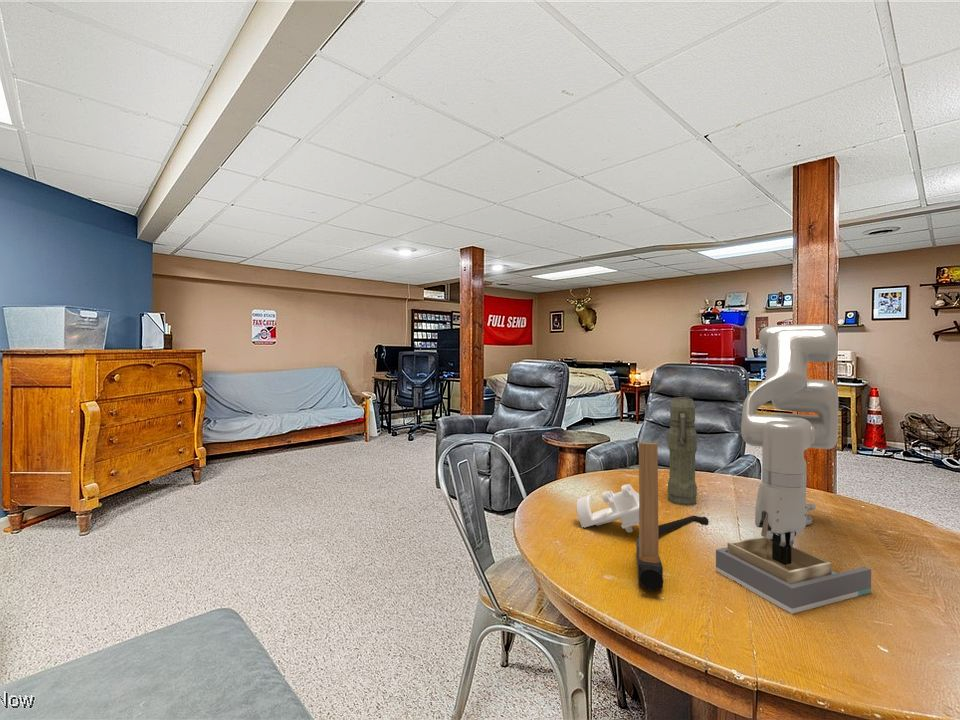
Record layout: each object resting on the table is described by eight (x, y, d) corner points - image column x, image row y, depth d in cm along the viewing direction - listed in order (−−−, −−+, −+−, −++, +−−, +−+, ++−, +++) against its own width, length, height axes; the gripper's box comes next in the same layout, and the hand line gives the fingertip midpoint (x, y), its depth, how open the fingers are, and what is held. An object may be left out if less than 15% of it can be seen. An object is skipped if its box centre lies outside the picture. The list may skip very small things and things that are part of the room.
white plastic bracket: (589, 548, 128) (569, 503, 131) (603, 534, 137) (584, 493, 140) (654, 530, 117) (631, 482, 121) (665, 517, 127) (643, 472, 130)
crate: (766, 559, 107) (766, 535, 107) (831, 590, 93) (831, 563, 93) (727, 567, 103) (727, 542, 103) (789, 601, 90) (789, 572, 89)
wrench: (710, 531, 132) (655, 552, 114) (693, 526, 136) (637, 547, 118) (710, 513, 133) (654, 531, 114) (692, 509, 137) (636, 526, 118)
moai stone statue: (693, 496, 157) (694, 396, 156) (699, 508, 146) (700, 399, 145) (666, 494, 159) (666, 395, 159) (669, 505, 148) (670, 399, 147)
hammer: (636, 563, 113) (635, 441, 117) (657, 566, 111) (656, 442, 116) (638, 589, 94) (637, 442, 99) (664, 592, 92) (662, 444, 97)
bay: (787, 555, 112) (788, 535, 112) (870, 592, 95) (871, 569, 95) (715, 570, 104) (715, 549, 104) (791, 613, 87) (792, 588, 87)
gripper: (790, 470, 104) (789, 549, 105) (741, 477, 100) (740, 559, 100) (824, 479, 97) (823, 564, 98) (773, 486, 92) (772, 575, 93)
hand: (781, 561), depth 99 cm, fingers closed
